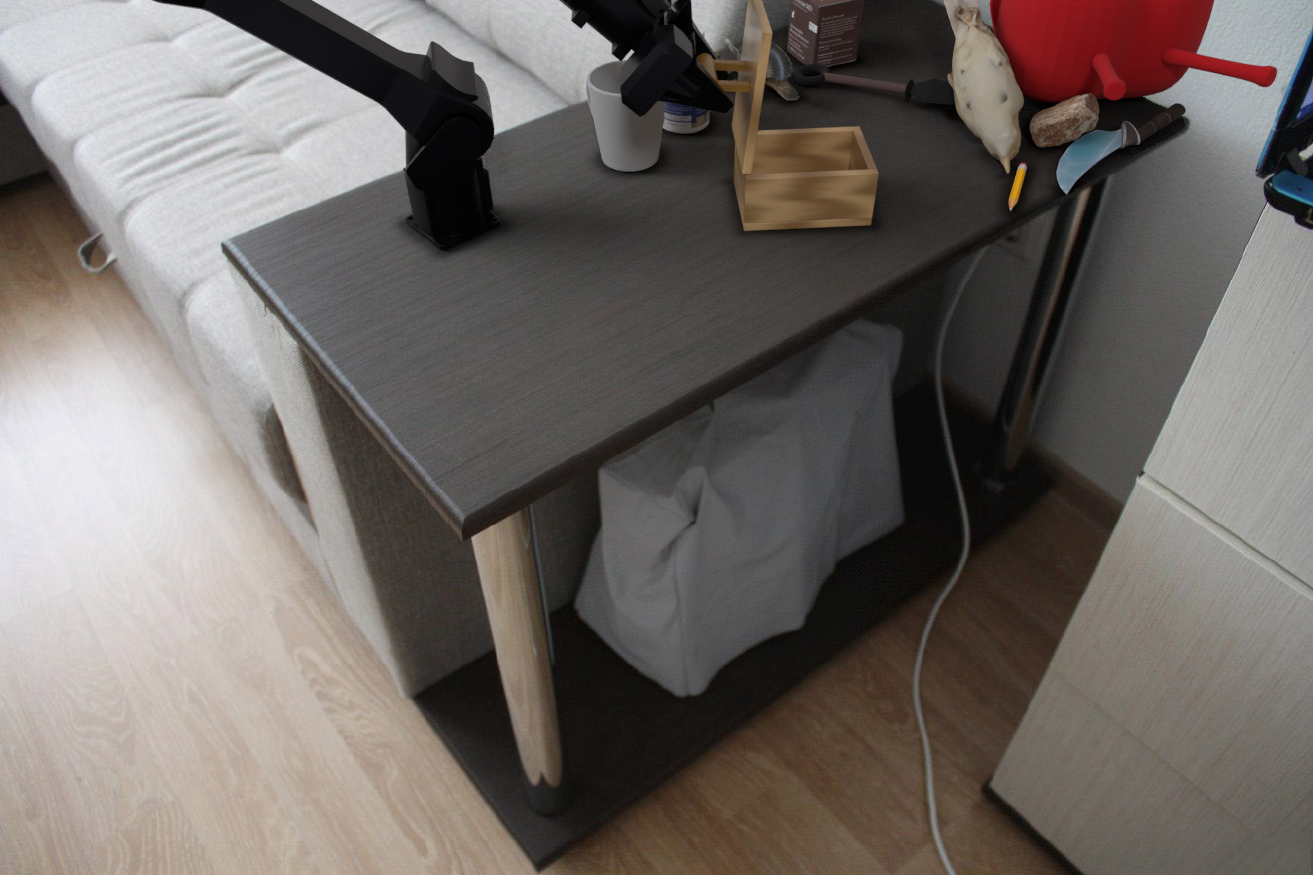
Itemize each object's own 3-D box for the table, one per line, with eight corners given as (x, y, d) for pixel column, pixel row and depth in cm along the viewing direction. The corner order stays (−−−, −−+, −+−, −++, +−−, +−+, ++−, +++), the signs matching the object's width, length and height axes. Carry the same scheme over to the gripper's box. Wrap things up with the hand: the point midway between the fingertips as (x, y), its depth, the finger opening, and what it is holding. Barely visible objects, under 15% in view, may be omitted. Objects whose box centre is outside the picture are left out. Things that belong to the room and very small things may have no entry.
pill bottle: (705, 137, 105) (706, 44, 98) (653, 133, 106) (652, 40, 99) (713, 113, 109) (715, 21, 102) (664, 109, 110) (663, 18, 103)
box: (785, 51, 120) (790, -13, 114) (829, 41, 121) (836, -23, 116) (812, 72, 116) (818, 6, 111) (857, 61, 117) (866, -4, 112)
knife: (1023, 183, 99) (1069, 204, 96) (1027, 168, 97) (1074, 189, 95) (1138, 101, 108) (1183, 118, 106) (1143, 87, 107) (1188, 104, 105)
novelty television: (1130, -69, 114) (1324, 3, 91) (1100, 50, 122) (1271, 144, 99) (957, -59, 111) (1113, 19, 88) (938, 62, 119) (1075, 163, 95)
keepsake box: (853, 177, 99) (859, 126, 95) (871, 225, 93) (879, 173, 89) (733, 182, 99) (735, 131, 95) (743, 231, 93) (746, 179, 89)
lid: (758, -10, 86) (699, -13, 86) (772, 32, 80) (709, 29, 80) (739, 127, 95) (686, 124, 94) (751, 174, 89) (693, 172, 88)
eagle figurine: (708, 102, 108) (793, 94, 106) (705, 31, 107) (791, 21, 104) (724, 111, 115) (804, 104, 113) (721, 45, 114) (802, 36, 112)
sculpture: (910, -27, 106) (932, -5, 110) (968, 181, 99) (988, 197, 103) (966, -62, 102) (986, -38, 106) (1030, 151, 95) (1049, 169, 99)
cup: (624, 186, 98) (620, 103, 93) (563, 148, 104) (555, 67, 98) (684, 160, 102) (684, 78, 96) (621, 124, 108) (618, 44, 102)
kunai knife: (1032, 135, 102) (1036, 105, 99) (787, 93, 115) (786, 65, 112) (1047, 115, 104) (1051, 85, 102) (805, 76, 117) (804, 48, 114)
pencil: (1017, 167, 100) (1023, 171, 100) (1004, 211, 94) (1010, 215, 94) (1022, 161, 99) (1028, 165, 99) (1009, 205, 93) (1016, 209, 93)
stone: (1068, 142, 107) (1035, 107, 107) (1115, 104, 103) (1081, 67, 102) (1054, 168, 102) (1019, 132, 102) (1102, 129, 98) (1066, 91, 98)
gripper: (653, -69, 70) (810, 74, 77) (649, -149, 83) (784, -21, 90) (554, 53, 76) (709, 175, 83) (566, -40, 89) (698, 72, 96)
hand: (728, 94), depth 88 cm, fingers closed on lid, 5 cm apart
